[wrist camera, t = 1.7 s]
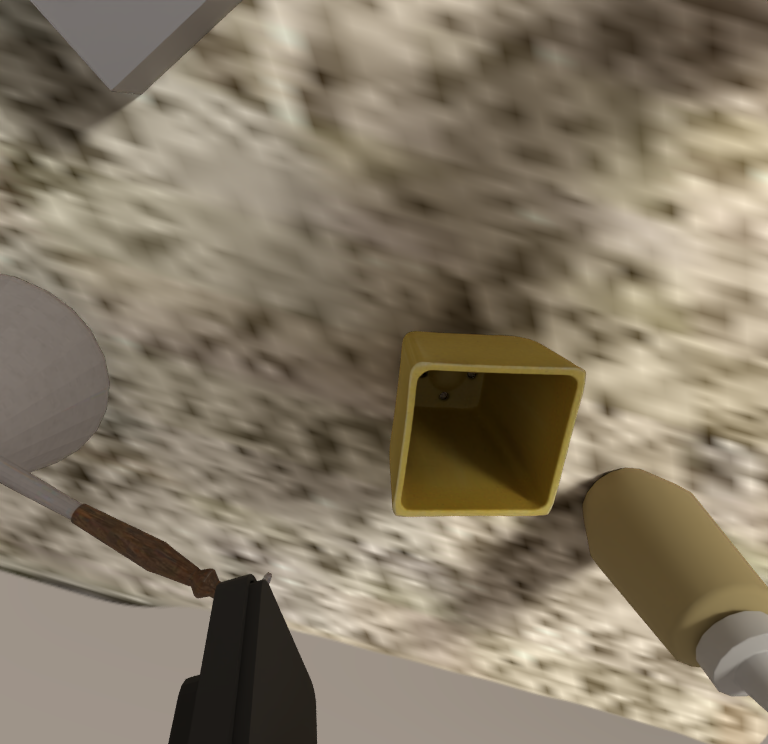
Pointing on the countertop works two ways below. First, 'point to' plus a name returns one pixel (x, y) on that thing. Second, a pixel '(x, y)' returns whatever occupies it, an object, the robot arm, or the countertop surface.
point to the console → (132, 34)
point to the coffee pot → (65, 420)
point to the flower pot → (480, 425)
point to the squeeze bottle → (682, 577)
